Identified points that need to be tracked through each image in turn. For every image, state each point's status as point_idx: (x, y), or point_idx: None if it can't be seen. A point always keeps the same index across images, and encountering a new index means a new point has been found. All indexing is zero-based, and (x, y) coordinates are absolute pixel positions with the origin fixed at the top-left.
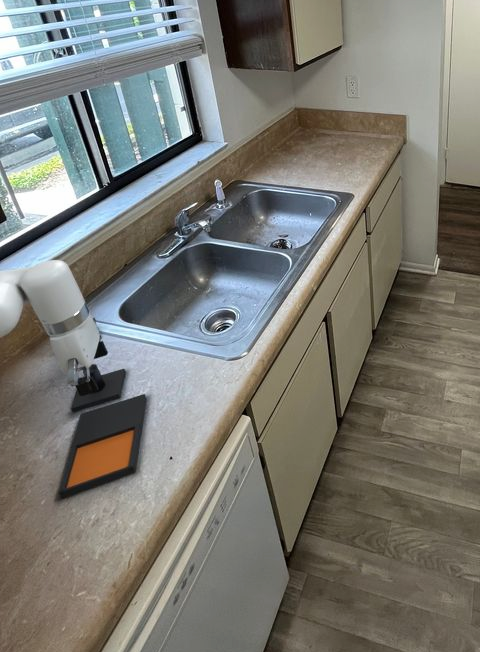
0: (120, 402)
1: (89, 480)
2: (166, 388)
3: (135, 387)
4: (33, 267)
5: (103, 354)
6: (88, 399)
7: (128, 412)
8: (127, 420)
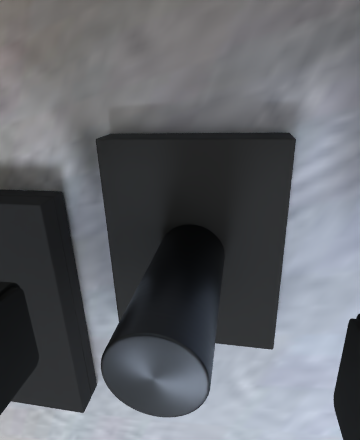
0: (64, 346)
1: None
2: (124, 430)
3: None
4: None
5: (341, 404)
6: (127, 218)
7: None
8: None
